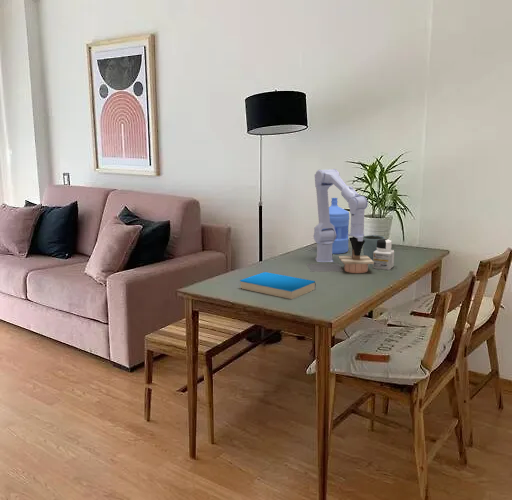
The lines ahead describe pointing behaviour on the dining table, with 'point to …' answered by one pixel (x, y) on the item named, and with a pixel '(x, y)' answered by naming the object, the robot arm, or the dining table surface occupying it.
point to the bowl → (356, 268)
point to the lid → (355, 259)
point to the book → (278, 285)
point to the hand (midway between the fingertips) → (356, 254)
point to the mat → (324, 267)
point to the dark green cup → (370, 245)
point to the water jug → (339, 227)
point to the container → (383, 255)
